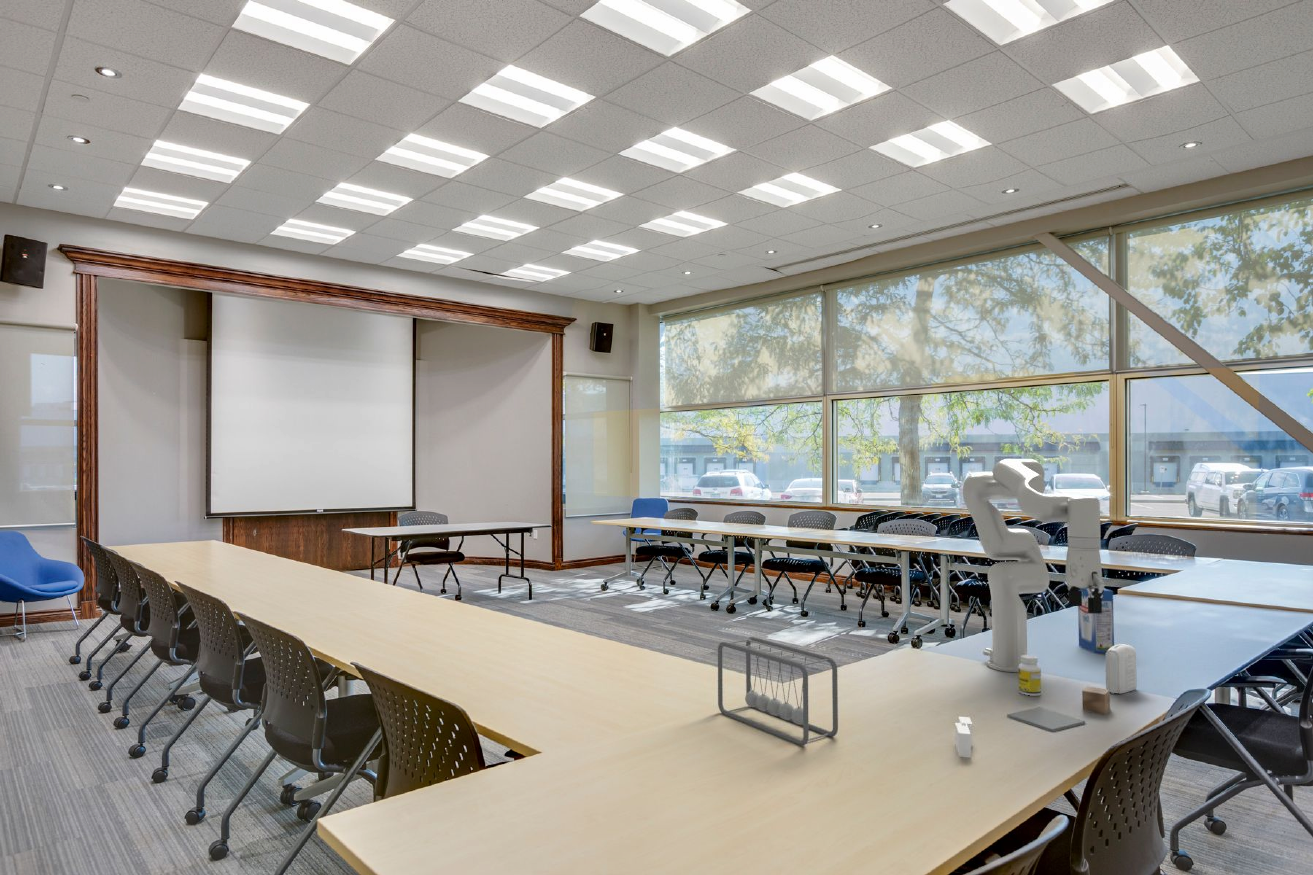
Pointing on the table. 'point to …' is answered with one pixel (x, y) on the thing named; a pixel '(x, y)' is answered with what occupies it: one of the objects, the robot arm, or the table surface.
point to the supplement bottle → (1029, 676)
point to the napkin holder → (963, 736)
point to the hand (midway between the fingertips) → (1084, 609)
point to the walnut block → (1096, 700)
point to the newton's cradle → (775, 705)
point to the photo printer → (1121, 669)
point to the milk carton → (1096, 624)
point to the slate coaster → (1046, 719)
